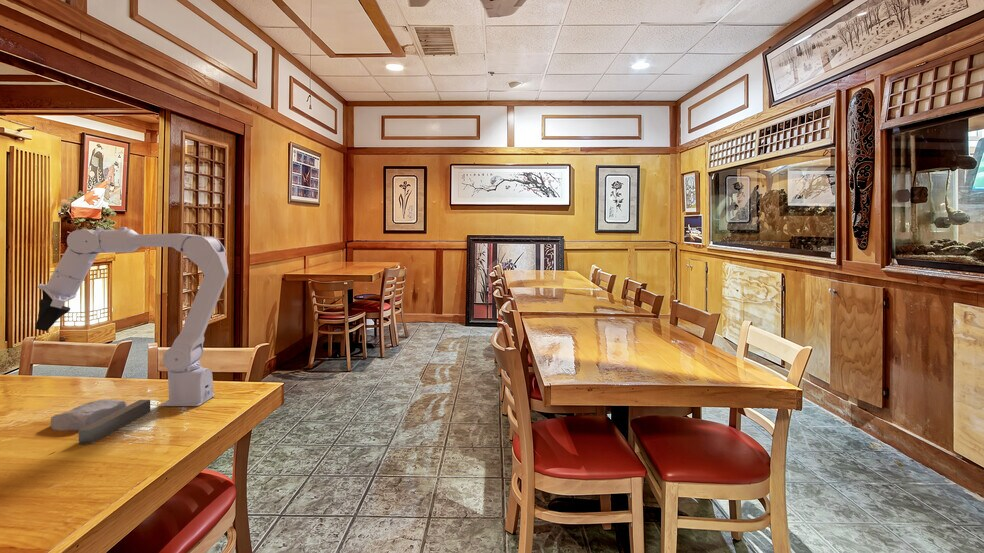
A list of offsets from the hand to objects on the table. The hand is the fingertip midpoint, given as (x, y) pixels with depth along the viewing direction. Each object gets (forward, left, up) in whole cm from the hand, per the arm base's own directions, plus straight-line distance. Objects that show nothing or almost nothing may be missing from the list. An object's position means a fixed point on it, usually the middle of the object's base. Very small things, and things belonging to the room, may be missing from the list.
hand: (42, 323), depth 111 cm
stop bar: (-24, +10, -22) cm, 34 cm away
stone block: (-14, +6, -22) cm, 27 cm away
